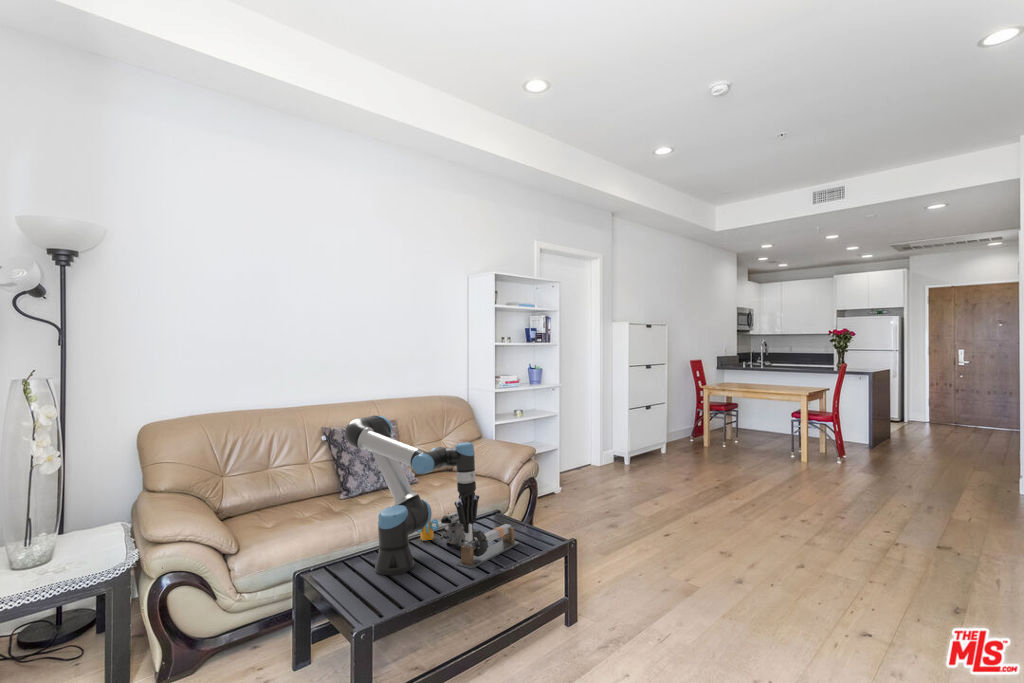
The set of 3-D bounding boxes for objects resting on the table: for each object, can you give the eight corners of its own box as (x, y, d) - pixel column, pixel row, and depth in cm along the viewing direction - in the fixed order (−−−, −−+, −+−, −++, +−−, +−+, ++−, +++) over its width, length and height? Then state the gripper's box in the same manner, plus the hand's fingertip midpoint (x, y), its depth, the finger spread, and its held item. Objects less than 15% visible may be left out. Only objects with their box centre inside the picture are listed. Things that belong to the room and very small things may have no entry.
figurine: (436, 549, 227) (434, 515, 228) (455, 542, 235) (454, 508, 236) (449, 553, 221) (448, 518, 221) (469, 546, 229) (467, 511, 230)
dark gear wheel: (484, 558, 208) (483, 533, 209) (465, 553, 214) (464, 529, 215) (488, 556, 210) (487, 531, 211) (469, 552, 216) (468, 527, 217)
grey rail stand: (472, 568, 203) (471, 546, 204) (456, 564, 208) (456, 543, 208) (518, 543, 229) (517, 524, 230) (504, 540, 234) (503, 521, 234)
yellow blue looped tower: (409, 543, 237) (408, 509, 238) (420, 535, 247) (419, 503, 248) (434, 544, 233) (432, 510, 234) (443, 536, 243) (442, 504, 244)
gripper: (462, 485, 202) (465, 546, 201) (483, 478, 213) (486, 536, 212) (448, 483, 207) (451, 543, 206) (469, 477, 217) (472, 534, 216)
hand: (468, 540), depth 209 cm, fingers closed
